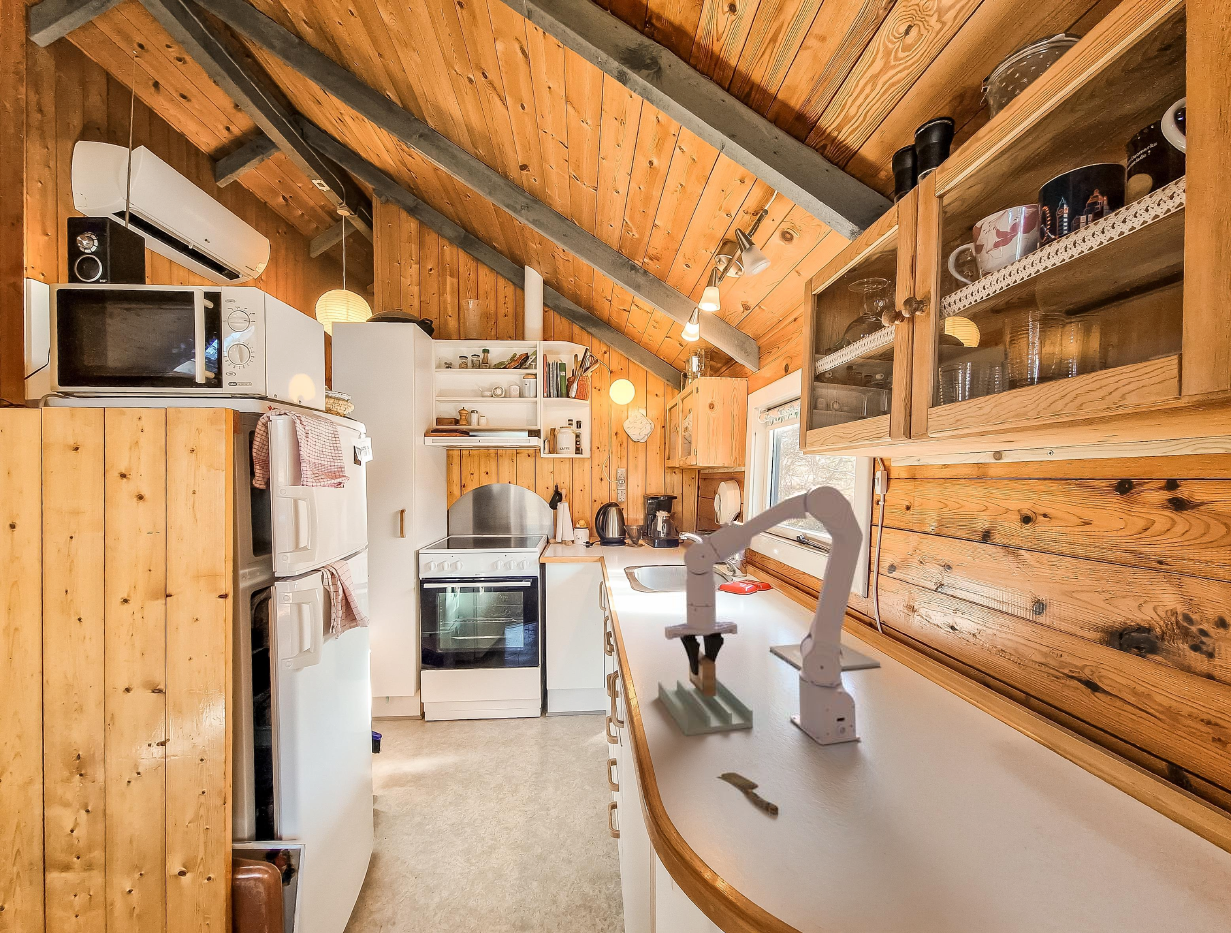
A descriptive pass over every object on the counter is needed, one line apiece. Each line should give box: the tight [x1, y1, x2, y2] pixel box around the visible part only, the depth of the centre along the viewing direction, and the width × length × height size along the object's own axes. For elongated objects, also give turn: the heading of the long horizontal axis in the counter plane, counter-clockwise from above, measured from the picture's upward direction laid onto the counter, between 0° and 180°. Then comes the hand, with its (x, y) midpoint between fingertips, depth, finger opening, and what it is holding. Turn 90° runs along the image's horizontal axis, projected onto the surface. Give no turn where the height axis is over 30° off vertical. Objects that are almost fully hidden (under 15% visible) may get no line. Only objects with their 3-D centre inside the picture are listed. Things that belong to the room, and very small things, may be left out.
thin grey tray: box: [769, 643, 881, 672], centre depth 122 cm, size 16×2×20 cm
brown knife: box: [716, 771, 779, 815], centre depth 70 cm, size 12×1×5 cm
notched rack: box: [657, 676, 754, 737], centre depth 95 cm, size 16×13×3 cm
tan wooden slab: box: [688, 649, 717, 697], centre depth 95 cm, size 8×2×6 cm, turn 12°
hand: (701, 672), depth 95 cm, fingers closed on tan wooden slab, 2 cm apart
